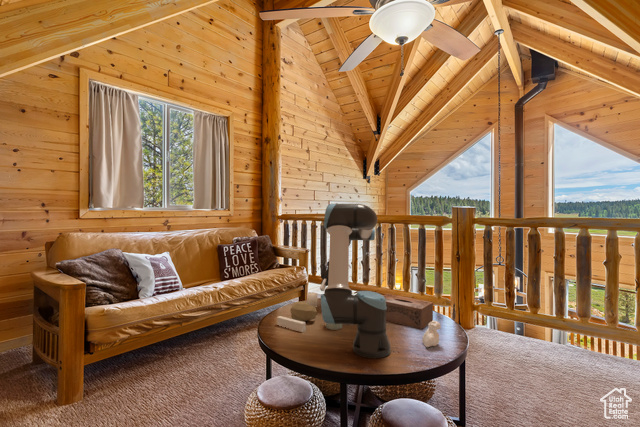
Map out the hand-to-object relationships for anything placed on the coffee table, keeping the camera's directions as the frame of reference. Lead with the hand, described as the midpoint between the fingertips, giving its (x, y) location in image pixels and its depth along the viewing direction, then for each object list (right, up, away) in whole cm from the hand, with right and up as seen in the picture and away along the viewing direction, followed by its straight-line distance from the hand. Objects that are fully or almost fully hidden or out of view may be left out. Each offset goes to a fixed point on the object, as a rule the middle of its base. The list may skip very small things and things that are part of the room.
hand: (321, 289), depth 177 cm
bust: (+47, -14, -40) cm, 63 cm away
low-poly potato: (-9, -13, -12) cm, 20 cm away
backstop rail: (-15, -13, -21) cm, 29 cm away
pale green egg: (+6, -13, -19) cm, 24 cm away
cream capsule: (-5, -13, +14) cm, 20 cm away
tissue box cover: (+43, -14, -9) cm, 46 cm away
